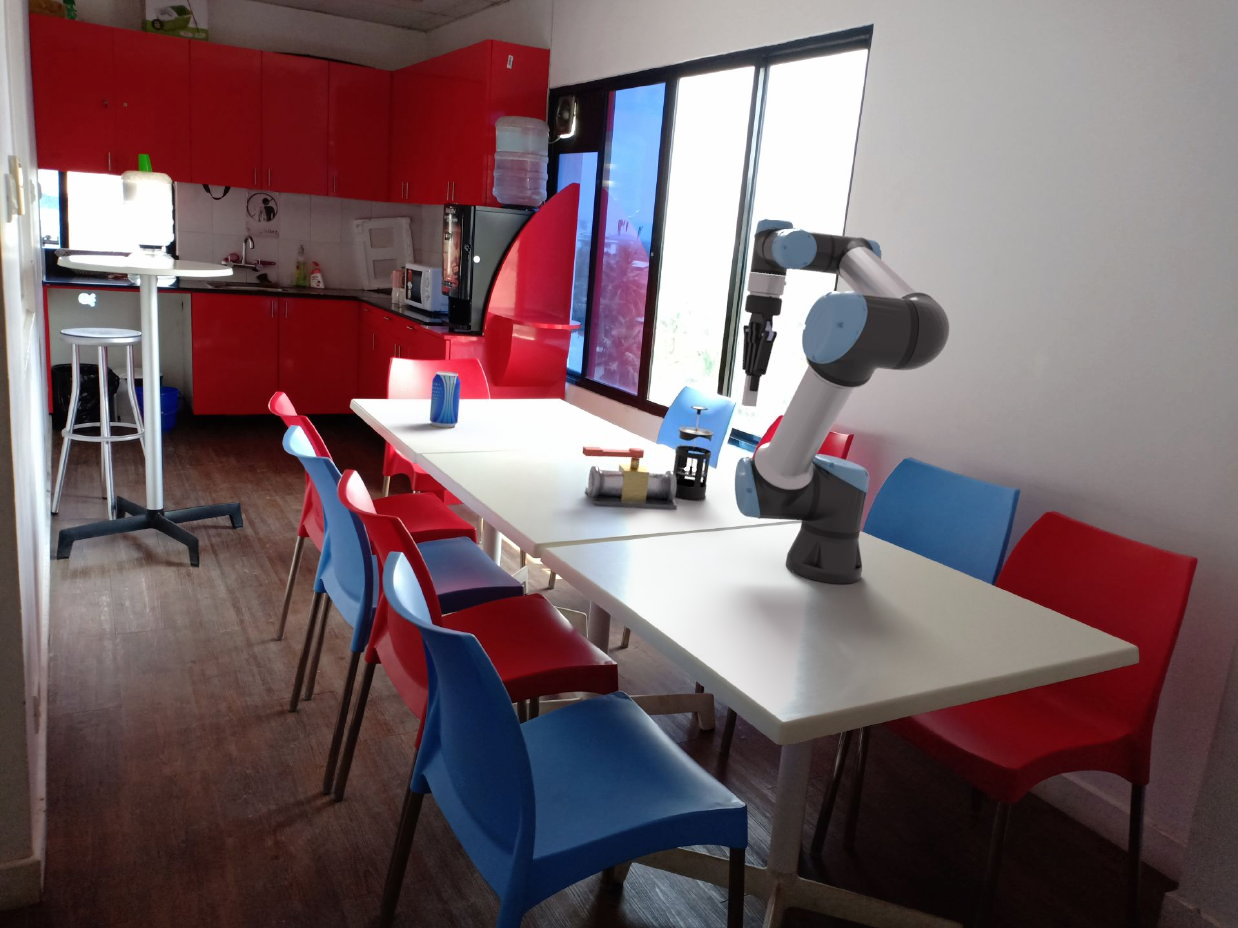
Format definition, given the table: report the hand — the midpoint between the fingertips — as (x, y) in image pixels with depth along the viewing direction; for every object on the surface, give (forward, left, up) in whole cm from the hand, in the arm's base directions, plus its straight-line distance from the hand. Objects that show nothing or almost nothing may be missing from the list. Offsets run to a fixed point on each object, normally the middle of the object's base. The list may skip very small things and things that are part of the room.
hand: (748, 405), depth 200 cm
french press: (+31, +1, -29) cm, 43 cm away
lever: (+22, +23, -18) cm, 37 cm away
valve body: (+23, +17, -29) cm, 41 cm away
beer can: (+96, +59, -29) cm, 117 cm away
